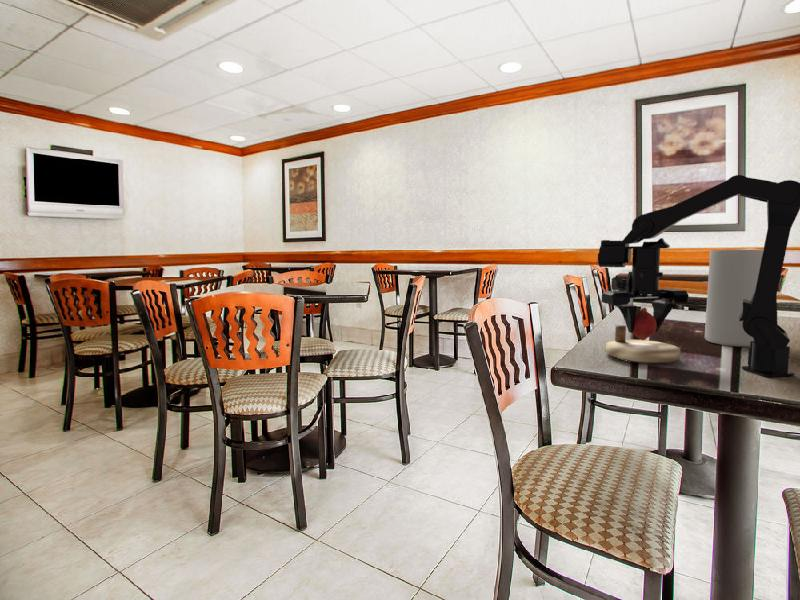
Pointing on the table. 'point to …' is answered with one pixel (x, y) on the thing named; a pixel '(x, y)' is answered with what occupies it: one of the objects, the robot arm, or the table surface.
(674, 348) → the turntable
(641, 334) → the onion
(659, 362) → the susan base
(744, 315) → the robot arm
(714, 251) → the cylinder vase
